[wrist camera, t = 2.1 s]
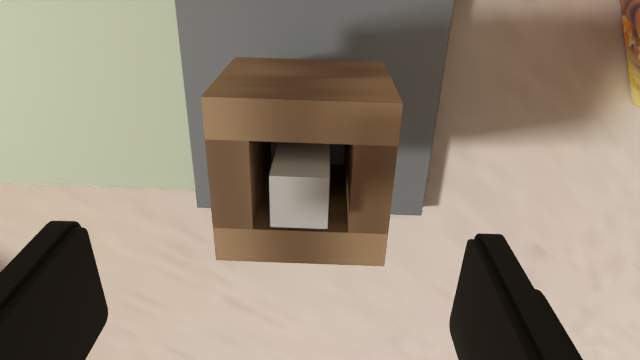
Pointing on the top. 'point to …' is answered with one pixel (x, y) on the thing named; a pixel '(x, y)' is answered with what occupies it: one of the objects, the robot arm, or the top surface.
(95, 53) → the pad
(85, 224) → the top surface
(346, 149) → the ring
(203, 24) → the post stand
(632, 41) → the candy box
